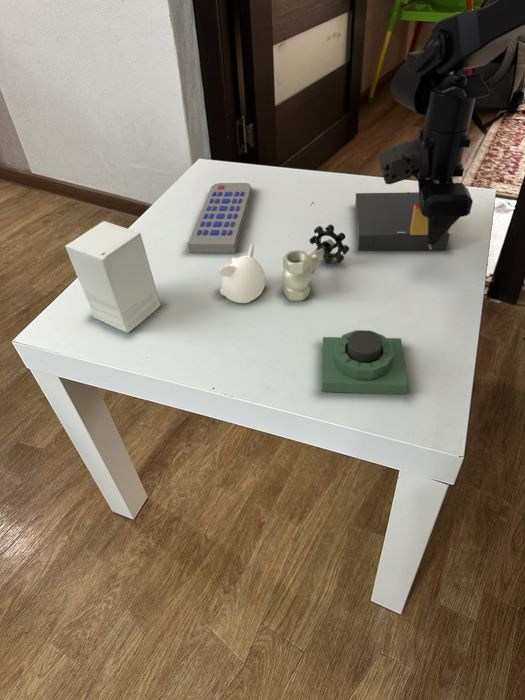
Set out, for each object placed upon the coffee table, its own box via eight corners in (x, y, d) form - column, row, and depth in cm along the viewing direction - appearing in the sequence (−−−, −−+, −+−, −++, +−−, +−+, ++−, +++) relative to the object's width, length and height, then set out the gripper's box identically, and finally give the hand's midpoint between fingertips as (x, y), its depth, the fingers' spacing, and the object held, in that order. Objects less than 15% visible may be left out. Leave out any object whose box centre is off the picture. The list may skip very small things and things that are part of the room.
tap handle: (442, 230, 78) (447, 202, 75) (443, 235, 77) (449, 207, 74) (409, 230, 79) (414, 203, 76) (410, 235, 78) (415, 207, 75)
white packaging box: (162, 305, 74) (142, 232, 66) (127, 335, 70) (101, 260, 61) (128, 290, 78) (104, 218, 69) (92, 318, 74) (62, 245, 65)
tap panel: (439, 207, 89) (443, 190, 87) (457, 265, 77) (462, 248, 74) (354, 208, 91) (356, 192, 89) (358, 265, 78) (360, 248, 76)
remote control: (189, 253, 84) (186, 242, 83) (214, 189, 100) (213, 179, 98) (235, 254, 83) (233, 243, 82) (253, 189, 99) (252, 179, 97)
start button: (379, 340, 62) (380, 330, 60) (381, 363, 59) (383, 353, 58) (346, 340, 62) (347, 329, 61) (347, 363, 59) (348, 352, 58)
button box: (399, 347, 65) (402, 327, 62) (405, 394, 59) (410, 374, 57) (322, 346, 66) (323, 326, 64) (321, 391, 60) (322, 372, 58)
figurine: (243, 272, 79) (239, 236, 75) (276, 284, 76) (274, 248, 72) (211, 299, 75) (205, 263, 70) (245, 313, 72) (241, 276, 67)
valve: (308, 308, 72) (348, 266, 78) (308, 271, 67) (350, 230, 74) (271, 294, 75) (312, 255, 81) (268, 257, 70) (312, 219, 77)
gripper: (380, 103, 74) (371, 199, 85) (391, 156, 61) (379, 262, 72) (458, 100, 73) (438, 198, 84) (486, 154, 60) (458, 262, 71)
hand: (427, 227), depth 78 cm, fingers open, 9 cm apart
